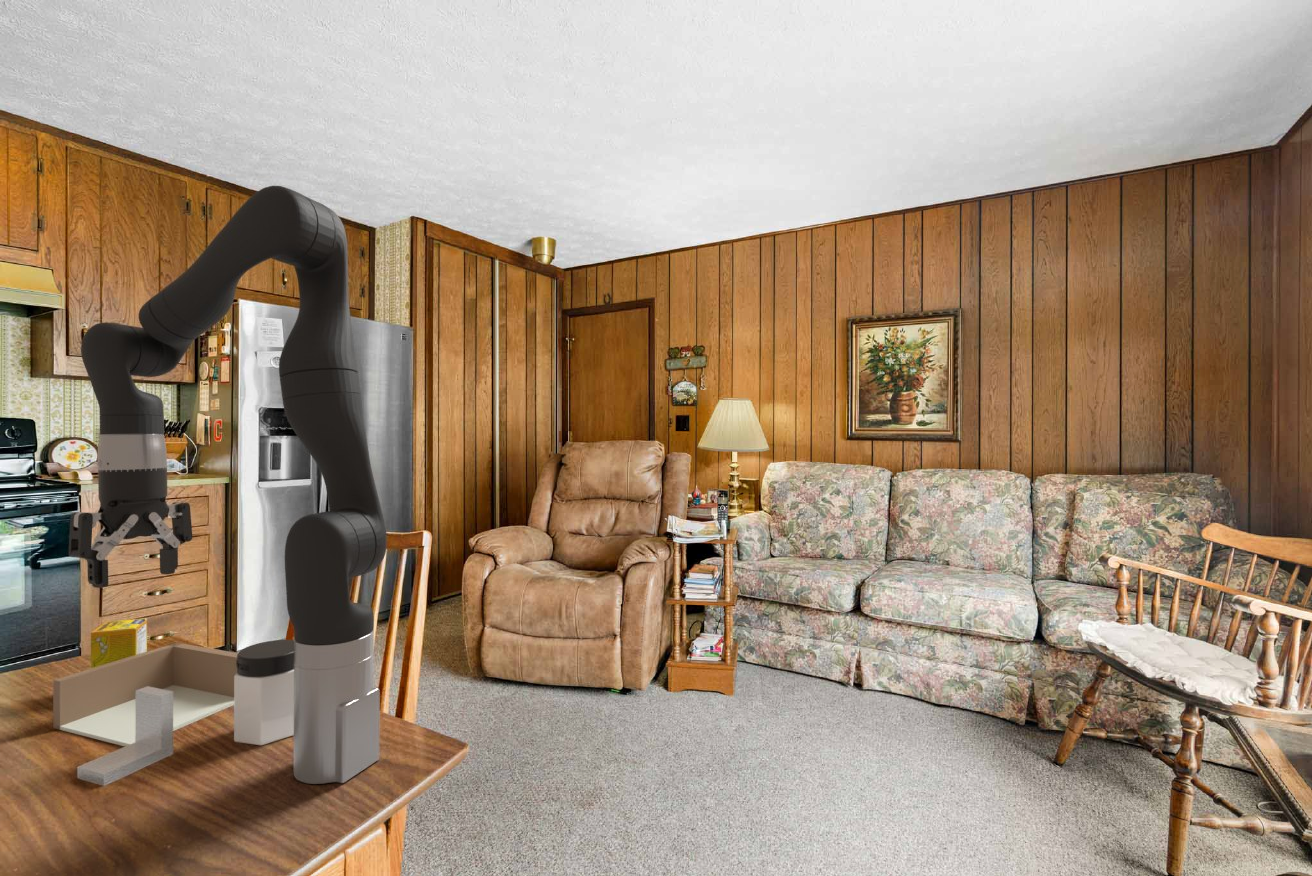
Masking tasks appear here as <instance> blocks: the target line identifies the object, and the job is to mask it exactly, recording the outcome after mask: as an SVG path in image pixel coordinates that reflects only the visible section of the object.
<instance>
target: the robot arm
mask: <svg viewBox="0 0 1312 876" xmlns="http://www.w3.org/2000/svg"><path fill="white" fill-rule="evenodd" d="M346 233H347V232H346V229H345V226H344V223H343V221H342V220H341V217H340V216H338V214H337V213H336V212H334V210H332V209H331V208H329V207H328V206H327V205H324V204H322V203H321V202H318V201H316V200H314V199H312V198H310V197H308V196H306V195H303V194H302V193H300V192H298V191H296V190H294V189H291V188H288V187H286V186H283V185H269V186H266V187H263V188H261V189H260V190H257V191H256V192H255V193H254V194H252V195H251V196H250V197H249V198H248V199H247V200H246V201H245V202H244V203H243V204H242V205H241V206H240V207H239V208H238V209H237V211H236V212H235V213H234V215H232V216H231V218H230V219H228V221H227V223H226V224H225V225H224V227H223V228H222V229H221V230H220V231H219V232H218V233H217V234H216V236H214V238H213V239H212V240H211V241H210V243H209V244H208V246H207V247H206V248H205V250H203V252H202V253H201V254H200V255H199V256H198V257H197V259H195V261H194V262H193V263H192V264H191V265H190V266H189V267H188V268H187V269H186V270H185V271H184V272H183V273H182V274H180V275H179V276H178V277H177V278H175V280H173V281H172V282H171V283H169V284H168V285H167V286H165V287H164V288H162V289H161V290H160V291H159V292H157V293H156V294H155V295H154V296H152V297H151V298H149V299H148V300H147V301H146V302H145V303H144V304H143V305H142V306H141V308H140V309H139V311H138V321H139V324H140V325H141V327H139V326H136V325H135V326H133V325H128V324H121V323H115V322H98V323H95V324H94V325H92V326H90V328H88V329H87V330H86V332H85V333H84V335H83V337H82V340H81V344H80V353H81V358H82V362H83V366H84V368H85V370H86V373H87V376H88V378H89V381H90V384H91V387H92V390H93V392H94V393H93V394H94V396H95V398H96V401H97V403H98V408H99V410H98V411H99V413H98V414H99V434H100V435H99V441H98V446H97V447H98V448H97V460H96V461H97V464H96V465H97V475H98V476H97V481H98V482H97V483H98V489H97V491H98V500H99V504H100V505H99V509H98V511H96V512H84V511H83V512H81V511H76V512H72V513H71V514H70V518H69V520H70V521H69V522H70V523H69V538H68V557H71V558H77V559H82V560H83V559H84V560H85V561H86V563H87V567H86V568H87V570H86V571H87V582H88V584H89V585H92V588H95V589H96V588H98V589H103V588H107V587H109V559H106V558H107V557H108V555H109V554H110V553H111V552H112V550H113V549H114V548H115V547H116V546H119V544H120V543H121V542H122V540H132V539H136V538H138V537H143V538H144V537H151V538H153V539H154V540H155V541H156V542H157V543H158V544H159V545H160V546H161V547H162V548H160V549H159V572H160V574H161V575H167V576H168V575H173V574H175V571H176V570H177V569H178V566H179V562H178V561H179V553H178V552H179V551H178V550H179V546H181V545H182V544H184V543H186V542H187V543H189V542H190V541H192V539H193V538H194V537H193V530H192V529H193V527H192V514H191V505H190V503H189V502H184V501H183V502H182V501H181V502H179V501H177V502H172V503H171V504H168V503H167V501H166V498H167V496H168V456H167V454H168V453H167V452H168V451H167V445H166V440H165V414H164V413H165V412H164V411H165V410H164V402H163V400H162V398H161V397H160V396H158V395H156V394H153V393H150V392H146V391H143V390H141V389H139V388H138V387H137V386H136V383H135V381H134V379H133V377H132V376H135V377H143V378H145V377H146V378H155V377H160V376H163V375H166V374H167V373H170V372H171V371H173V370H174V369H175V368H176V367H177V366H178V365H179V363H180V362H181V361H182V359H183V357H184V355H185V354H186V353H187V351H188V350H189V348H190V347H191V345H192V343H193V342H194V340H196V339H197V338H199V337H200V336H201V335H203V334H204V333H206V332H207V331H208V330H210V329H212V327H214V326H216V325H217V324H218V323H219V322H220V321H221V320H222V319H223V318H224V317H225V316H226V315H227V314H228V312H229V311H230V309H231V307H232V305H233V303H234V300H235V296H236V291H237V286H238V283H240V279H241V278H242V277H243V276H244V275H245V273H247V272H248V271H249V270H251V269H253V268H254V267H256V266H257V265H259V264H261V263H262V262H265V261H268V260H270V259H273V260H275V261H278V262H281V263H283V264H287V265H290V266H292V267H293V268H294V269H295V273H296V278H297V283H298V292H299V293H298V294H299V295H298V296H299V309H298V315H297V318H296V320H295V323H294V325H293V327H292V329H291V331H290V333H289V335H288V337H287V339H286V341H285V344H284V346H283V349H282V350H281V353H280V357H279V362H278V373H279V381H280V382H279V383H280V391H281V397H282V404H283V410H284V414H285V416H286V419H287V422H288V423H289V425H290V427H291V428H292V430H293V431H294V433H295V435H296V437H297V438H298V439H299V441H300V442H301V444H302V445H303V446H304V447H305V450H306V451H307V452H308V454H310V456H311V457H312V459H313V460H314V462H315V463H316V465H317V466H318V469H319V471H320V474H321V475H322V478H323V482H324V485H325V491H326V495H327V502H328V511H321V512H316V513H311V514H308V515H304V516H302V517H300V518H299V519H297V520H296V521H295V522H294V523H293V524H292V526H291V528H290V529H289V532H288V534H287V536H286V540H285V541H286V542H285V545H284V546H285V547H284V572H285V573H284V574H285V588H286V592H285V593H286V607H287V614H288V617H289V619H290V621H291V624H292V627H293V640H294V735H293V777H294V778H295V779H296V780H297V781H299V782H301V783H305V784H310V785H311V784H313V785H317V784H319V785H320V784H322V785H323V784H328V783H340V784H344V783H347V781H349V780H350V779H351V778H354V777H355V776H356V775H358V774H359V773H361V772H362V771H363V770H365V769H367V768H368V767H369V766H370V767H371V765H373V764H374V763H376V762H377V761H378V760H380V705H381V703H380V702H381V701H380V697H381V696H380V695H381V693H380V688H377V687H374V650H375V649H374V647H375V645H374V644H375V643H374V642H375V640H374V639H375V638H374V635H375V634H374V633H375V631H374V630H375V629H374V627H375V622H374V621H375V618H374V611H373V609H372V608H371V607H370V606H369V605H367V604H365V603H364V604H363V603H358V602H352V600H351V596H350V589H349V588H350V585H349V580H351V579H354V578H356V577H360V576H363V575H366V574H369V573H371V572H373V571H374V570H376V569H377V568H378V567H379V566H380V565H381V563H382V562H383V560H384V558H385V555H386V552H387V547H388V545H387V544H388V539H387V538H388V537H387V536H388V535H387V528H386V523H385V518H384V514H383V511H382V507H381V502H380V498H379V495H378V494H379V493H378V490H377V486H376V483H375V478H374V474H373V470H372V464H371V458H370V451H369V446H368V441H367V440H368V439H367V434H366V427H365V421H364V416H363V402H362V394H361V393H362V392H361V384H360V377H359V371H358V365H357V360H356V355H355V353H356V352H355V346H354V338H353V329H352V319H351V310H350V298H349V296H350V294H349V293H350V292H349V262H348V261H349V258H348V257H349V256H348V254H349V252H348V239H347V234H346ZM167 516H169V518H171V524H172V525H171V526H172V529H171V528H170V526H168V525H167V524H166V523H165V521H164V520H165V519H166V517H167ZM97 523H99V524H100V525H101V526H102V528H101V530H100V531H99V532H98V533H97V534H96V536H95V538H94V539H93V543H92V537H93V528H95V527H96V525H97Z"/></svg>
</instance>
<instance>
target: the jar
mask: <svg viewBox="0 0 1312 876" xmlns="http://www.w3.org/2000/svg"><path fill="white" fill-rule="evenodd" d="M237 653H238V654H237V661H236V667H237V674H236V675H235V676H234V705H233V722H234V723H233V741H234V742H235V743H241V744H242V743H243V744H248V745H249V744H250V745H254V746H255V745H256V746H265V745H267V744H270V743H274V742H277V741H280V740H283V739H286V738H289V737H294V639H275V640H269V641H264V642H259V643H255V644H251V645H248V646H247V647H244V648H242V649H240V650H239V651H238V652H237Z"/></svg>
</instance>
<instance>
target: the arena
mask: <svg viewBox="0 0 1312 876" xmlns="http://www.w3.org/2000/svg"><path fill="white" fill-rule="evenodd" d="M238 653H239V652H234V651H228V650H224V649H223V650H222V649H217V648H211V647H204V646H199V645H193V644H187V643H183V642H182V643H181V642H174V643H170V644H167V645H164V646H162V647H161V646H160V647H158V648H157V647H156V648H154V649H152V650H147V652H144V653H141V654H137V655H134V656H131V657H127V658H124V659H121V660H118V661H114V662H111V663H108V664H104V665H101V666H98V667H95V668H91V667H90V668H89V669H84V670H82V671H78V672H76V673H72V674H68V675H66V676H61V677H58V678H56V679H53V681H52V682H53V683H52V685H53V686H52V687H53V689H52V690H53V692H52V693H53V695H52V696H53V697H52V698H53V701H52V704H53V705H52V707H53V709H52V710H53V714H52V715H53V716H52V717H53V719H52V720H53V721H52V722H53V723H52V725H53V726H52V727H53V728H52V729H56V730H60V731H64V732H68V733H71V734H75V735H78V736H82V737H87V738H90V739H95V740H98V741H101V742H105V743H110V744H114V745H116V746H117V745H118V746H120V747H121V746H122V747H125V746H128V745H130V744H132V743H135V723H136V690H139V689H141V688H144V687H147V686H149V687H154V688H158V689H163V690H168V691H172V692H173V732H174V731H176V730H179V729H181V728H184V727H187V726H188V725H190V724H193V723H195V722H197V721H200V720H203V719H205V718H207V717H209V716H211V715H213V714H217V713H218V712H221V711H223V710H226V709H228V708H230V707H234V676H235V675H236V674H237V667H236V661H237V654H238Z"/></svg>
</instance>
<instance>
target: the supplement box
mask: <svg viewBox="0 0 1312 876" xmlns="http://www.w3.org/2000/svg"><path fill="white" fill-rule="evenodd" d="M147 651H148V619H147V617H145V618H144V617H143V618H133V619H126V620H124V619H122V620H112V621H105V622H103V623H102V624H101V625H99V626H98V627H97V628H95V629H94V630H92V631H91V632H90V669H91V668H95V667H98V666H101V665H104V664H108V663H111V662H114V661H118V660H121V659H124V658H127V657H131V656H134V655H137V654H141V653H144V652H147Z"/></svg>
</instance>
